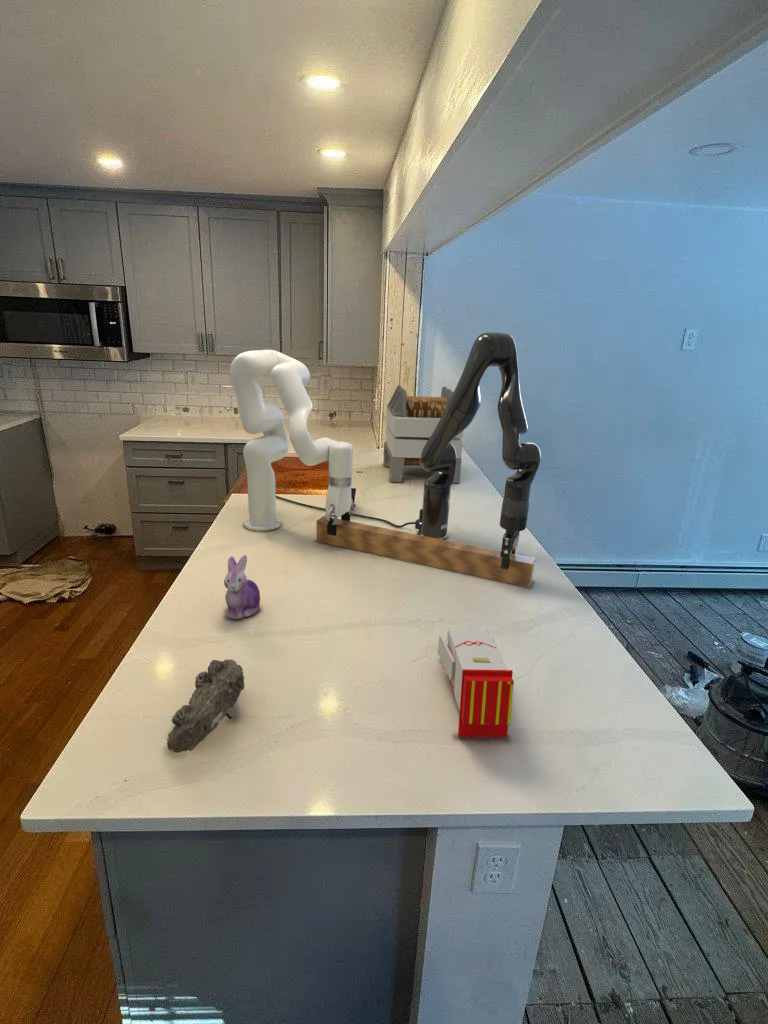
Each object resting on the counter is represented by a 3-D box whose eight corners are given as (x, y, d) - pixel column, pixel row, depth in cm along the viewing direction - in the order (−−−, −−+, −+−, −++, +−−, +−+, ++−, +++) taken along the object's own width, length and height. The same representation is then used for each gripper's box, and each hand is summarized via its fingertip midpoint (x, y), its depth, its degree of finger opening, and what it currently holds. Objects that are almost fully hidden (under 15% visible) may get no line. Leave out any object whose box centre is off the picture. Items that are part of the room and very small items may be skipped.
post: (531, 580, 169) (535, 558, 167) (529, 587, 165) (532, 564, 162) (323, 536, 195) (323, 515, 192) (316, 541, 190) (316, 520, 188)
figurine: (229, 624, 139) (226, 568, 134) (220, 605, 148) (216, 552, 142) (266, 616, 143) (265, 562, 138) (255, 598, 152) (254, 546, 147)
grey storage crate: (382, 463, 289) (386, 382, 275) (445, 464, 293) (451, 384, 279) (390, 482, 257) (394, 392, 243) (460, 483, 261) (468, 394, 247)
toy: (488, 613, 130) (523, 677, 101) (484, 667, 133) (517, 744, 104) (435, 612, 130) (455, 676, 101) (432, 666, 133) (451, 743, 103)
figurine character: (355, 520, 214) (356, 503, 227) (355, 502, 211) (356, 486, 224) (337, 519, 214) (339, 502, 227) (337, 501, 210) (339, 485, 224)
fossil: (192, 660, 117) (244, 628, 112) (224, 691, 120) (276, 661, 115) (142, 746, 98) (202, 712, 93) (182, 779, 101) (242, 748, 96)
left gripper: (342, 472, 191) (340, 519, 197) (316, 485, 176) (315, 536, 182) (362, 476, 189) (360, 524, 195) (337, 489, 174) (336, 541, 180)
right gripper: (506, 502, 170) (500, 552, 175) (495, 517, 158) (489, 569, 163) (532, 507, 167) (524, 557, 173) (523, 522, 155) (515, 575, 160)
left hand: (338, 529), depth 188 cm, fingers open, 9 cm apart
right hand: (507, 563), depth 168 cm, fingers open, 8 cm apart
